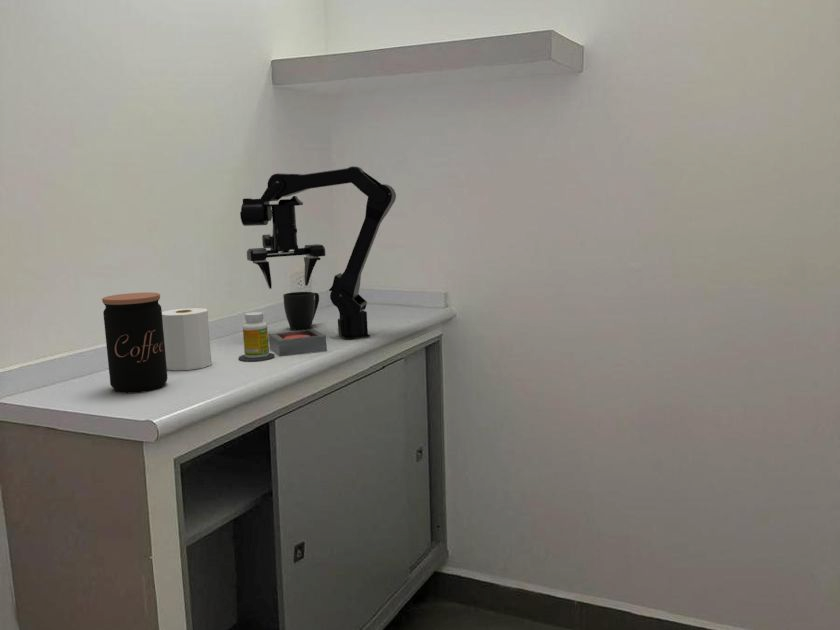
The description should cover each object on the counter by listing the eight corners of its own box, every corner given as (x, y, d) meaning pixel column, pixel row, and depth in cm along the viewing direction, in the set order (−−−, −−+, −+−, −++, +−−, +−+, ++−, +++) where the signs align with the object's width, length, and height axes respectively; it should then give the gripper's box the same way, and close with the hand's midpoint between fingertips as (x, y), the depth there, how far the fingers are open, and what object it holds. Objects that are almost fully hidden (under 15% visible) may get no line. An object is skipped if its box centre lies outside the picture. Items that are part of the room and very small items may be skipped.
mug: (331, 324, 229) (329, 290, 228) (302, 332, 219) (299, 296, 218) (308, 323, 234) (306, 289, 232) (279, 330, 224) (276, 295, 223)
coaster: (270, 352, 192) (270, 351, 192) (278, 359, 185) (278, 357, 185) (235, 356, 189) (235, 355, 189) (242, 363, 182) (241, 361, 182)
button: (307, 344, 199) (306, 333, 199) (313, 348, 193) (312, 337, 193) (282, 346, 197) (281, 336, 196) (288, 351, 191) (287, 340, 191)
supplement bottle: (263, 358, 184) (260, 315, 183) (241, 358, 185) (237, 315, 184) (272, 353, 189) (269, 311, 188) (250, 353, 190) (247, 311, 189)
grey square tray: (314, 343, 202) (313, 329, 202) (326, 350, 192) (326, 335, 192) (269, 348, 198) (268, 333, 198) (279, 356, 188) (278, 340, 188)
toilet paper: (176, 361, 188) (172, 307, 186) (220, 360, 186) (215, 307, 184) (155, 371, 178) (149, 315, 176) (200, 371, 176) (195, 314, 174)
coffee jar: (112, 396, 156) (103, 301, 153) (109, 385, 166) (100, 295, 163) (171, 389, 160) (163, 296, 158) (164, 378, 170) (157, 291, 167)
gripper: (312, 221, 218) (315, 281, 220) (240, 225, 211) (245, 287, 213) (324, 222, 207) (327, 285, 210) (249, 227, 200) (253, 291, 203)
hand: (288, 287), depth 209 cm, fingers open, 9 cm apart
